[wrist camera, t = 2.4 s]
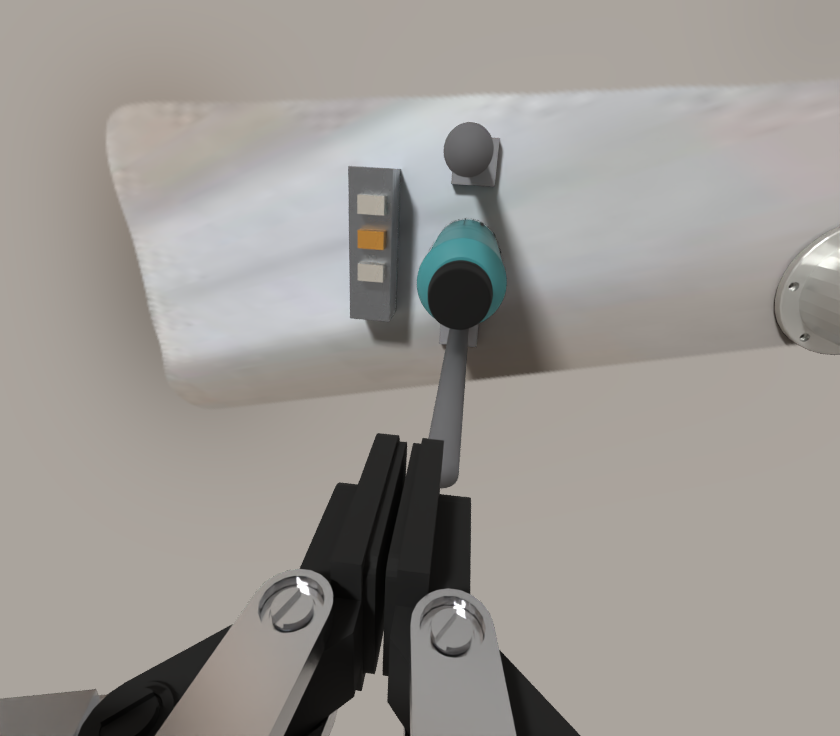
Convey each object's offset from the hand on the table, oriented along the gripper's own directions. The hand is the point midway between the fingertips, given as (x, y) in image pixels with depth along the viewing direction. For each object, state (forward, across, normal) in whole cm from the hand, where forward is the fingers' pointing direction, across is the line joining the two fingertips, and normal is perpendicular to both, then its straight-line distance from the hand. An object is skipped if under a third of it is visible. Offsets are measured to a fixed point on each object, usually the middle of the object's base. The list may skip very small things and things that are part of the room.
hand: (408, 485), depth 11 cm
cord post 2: (+37, -1, +8) cm, 38 cm away
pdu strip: (+37, +8, 0) cm, 38 cm away
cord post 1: (+37, -1, -8) cm, 38 cm away
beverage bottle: (+37, -1, 0) cm, 37 cm away
